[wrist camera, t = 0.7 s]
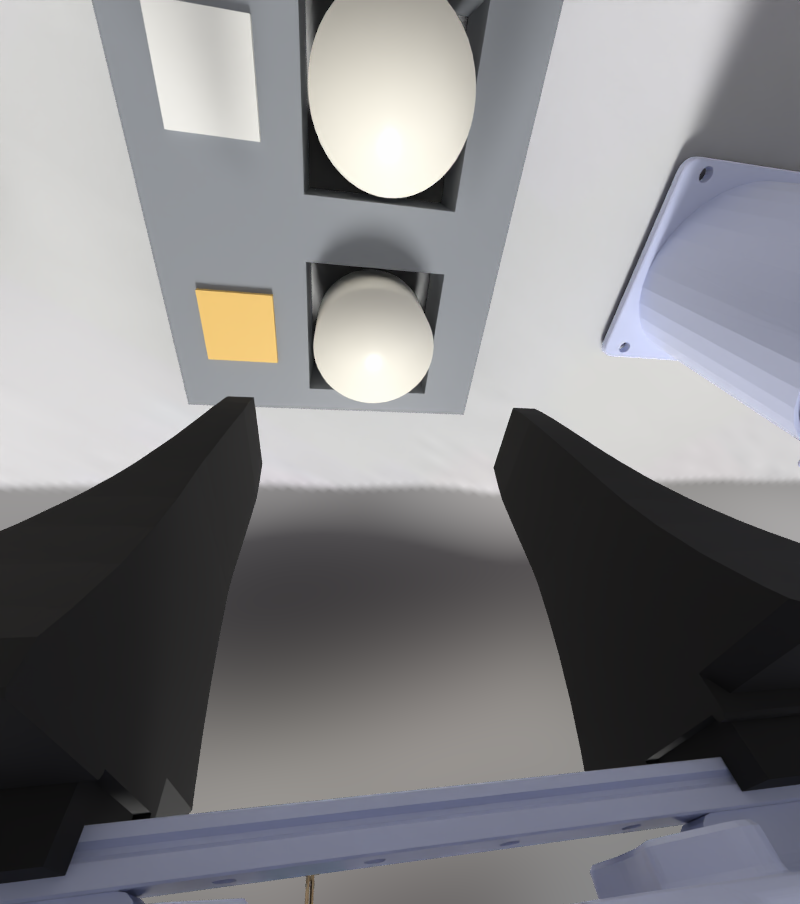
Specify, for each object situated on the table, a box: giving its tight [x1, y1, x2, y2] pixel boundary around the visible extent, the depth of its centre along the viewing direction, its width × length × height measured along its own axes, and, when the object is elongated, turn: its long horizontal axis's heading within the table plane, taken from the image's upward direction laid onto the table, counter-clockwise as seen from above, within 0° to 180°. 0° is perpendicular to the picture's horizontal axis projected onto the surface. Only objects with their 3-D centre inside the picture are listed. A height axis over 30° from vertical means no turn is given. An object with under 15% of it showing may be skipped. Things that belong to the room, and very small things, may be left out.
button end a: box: [313, 269, 434, 403], centre depth 16 cm, size 4×4×3 cm
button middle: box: [308, 0, 476, 198], centre depth 12 cm, size 4×4×3 cm
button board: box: [92, 0, 564, 415], centre depth 12 cm, size 12×21×3 cm, turn 173°
